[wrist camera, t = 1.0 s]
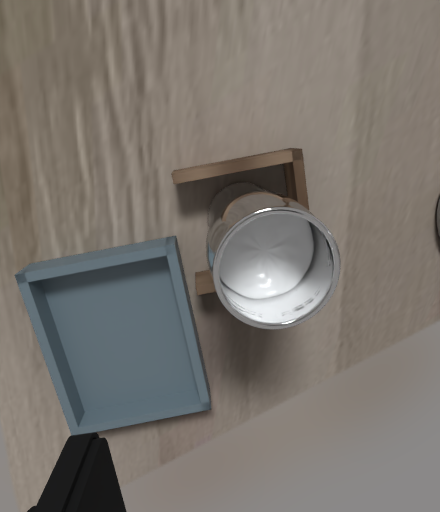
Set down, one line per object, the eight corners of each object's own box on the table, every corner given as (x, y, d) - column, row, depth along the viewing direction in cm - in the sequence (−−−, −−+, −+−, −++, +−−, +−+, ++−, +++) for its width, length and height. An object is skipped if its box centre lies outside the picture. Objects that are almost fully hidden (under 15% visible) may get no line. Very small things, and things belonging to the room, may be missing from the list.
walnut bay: (290, 148, 33) (301, 148, 29) (304, 259, 35) (316, 272, 32) (173, 170, 32) (171, 173, 29) (197, 280, 35) (197, 295, 32)
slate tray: (176, 235, 34) (174, 244, 31) (210, 389, 39) (211, 409, 36) (29, 263, 34) (14, 274, 31) (81, 414, 38) (72, 436, 36)
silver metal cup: (205, 258, 35) (213, 339, 20) (199, 179, 33) (202, 208, 18) (282, 251, 35) (343, 327, 21) (280, 173, 33) (346, 196, 19)
